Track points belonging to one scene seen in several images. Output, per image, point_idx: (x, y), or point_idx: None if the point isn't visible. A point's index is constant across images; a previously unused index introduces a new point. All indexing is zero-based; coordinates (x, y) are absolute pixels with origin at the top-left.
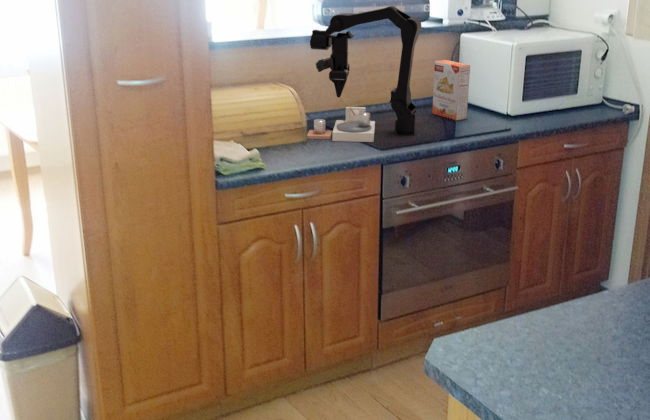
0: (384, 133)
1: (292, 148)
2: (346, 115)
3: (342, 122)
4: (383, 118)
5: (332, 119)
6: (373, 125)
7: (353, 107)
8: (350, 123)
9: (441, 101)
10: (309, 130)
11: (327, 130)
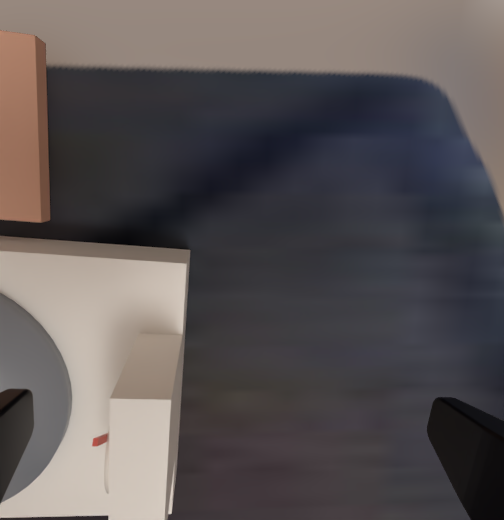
0: (83, 517)
1: None
2: (127, 364)
3: (114, 311)
4: (418, 501)
5: (432, 225)
6: (42, 511)
7: (144, 466)
8: (2, 379)
9: None
10: (14, 34)
11: (34, 188)
